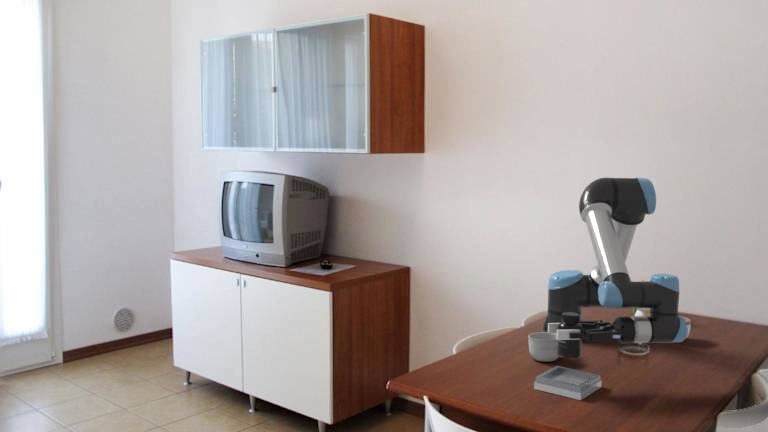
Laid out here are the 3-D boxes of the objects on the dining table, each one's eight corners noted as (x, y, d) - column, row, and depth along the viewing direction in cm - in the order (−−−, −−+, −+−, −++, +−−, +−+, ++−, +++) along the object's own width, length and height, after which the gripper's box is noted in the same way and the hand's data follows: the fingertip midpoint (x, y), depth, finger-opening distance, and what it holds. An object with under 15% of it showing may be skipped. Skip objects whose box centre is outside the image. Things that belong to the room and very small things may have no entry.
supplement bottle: (554, 357, 204) (556, 315, 203) (558, 350, 210) (559, 310, 209) (579, 360, 201) (581, 317, 200) (583, 353, 208) (584, 312, 206)
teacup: (542, 366, 226) (543, 341, 226) (520, 356, 236) (521, 332, 235) (576, 360, 233) (577, 335, 232) (553, 351, 242) (554, 327, 242)
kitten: (622, 314, 294) (624, 278, 292) (646, 314, 295) (648, 277, 293) (639, 324, 279) (641, 285, 277) (664, 323, 280) (666, 285, 278)
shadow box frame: (534, 388, 206) (534, 376, 205) (556, 376, 217) (556, 365, 216) (580, 400, 197) (581, 387, 197) (601, 386, 208) (601, 375, 207)
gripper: (646, 352, 197) (564, 354, 195) (616, 333, 217) (541, 335, 215) (647, 325, 197) (565, 327, 194) (617, 309, 216) (541, 310, 214)
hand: (552, 331), depth 204 cm, fingers closed on supplement bottle, 7 cm apart
